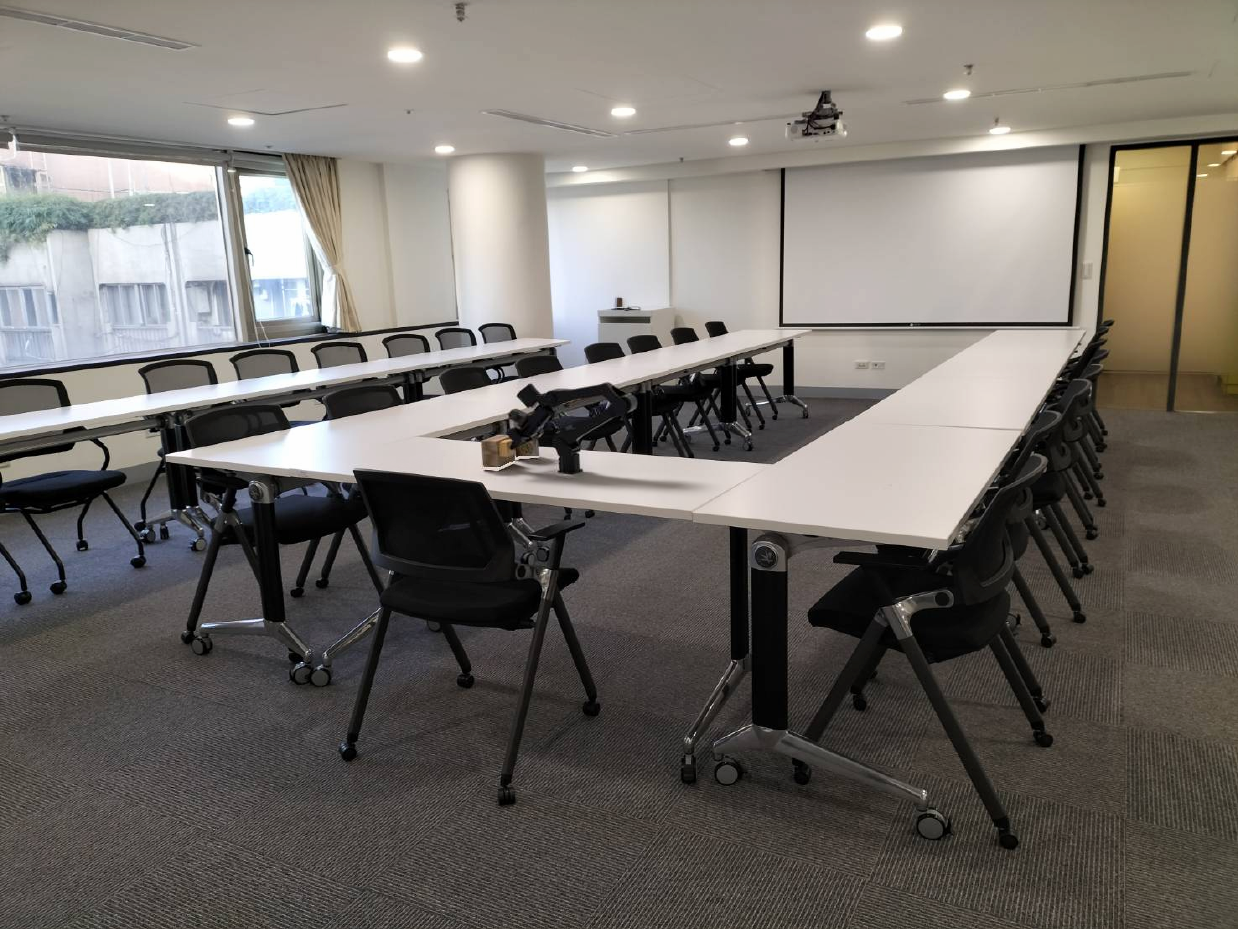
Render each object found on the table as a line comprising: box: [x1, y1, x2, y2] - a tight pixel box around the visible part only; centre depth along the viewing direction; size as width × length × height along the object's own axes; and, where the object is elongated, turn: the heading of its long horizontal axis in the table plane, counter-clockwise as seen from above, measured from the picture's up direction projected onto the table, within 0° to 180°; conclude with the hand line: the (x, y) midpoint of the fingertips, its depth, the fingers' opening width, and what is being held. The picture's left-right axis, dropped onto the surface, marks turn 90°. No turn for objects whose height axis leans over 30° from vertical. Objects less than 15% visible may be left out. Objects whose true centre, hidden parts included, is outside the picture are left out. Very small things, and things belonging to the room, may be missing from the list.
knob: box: [499, 440, 514, 457], centre depth 305 cm, size 7×5×5 cm
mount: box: [480, 434, 516, 467], centre depth 309 cm, size 7×13×10 cm, turn 160°
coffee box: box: [509, 413, 540, 457], centre depth 324 cm, size 9×6×16 cm
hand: (510, 449), depth 304 cm, fingers closed, pressing on knob
